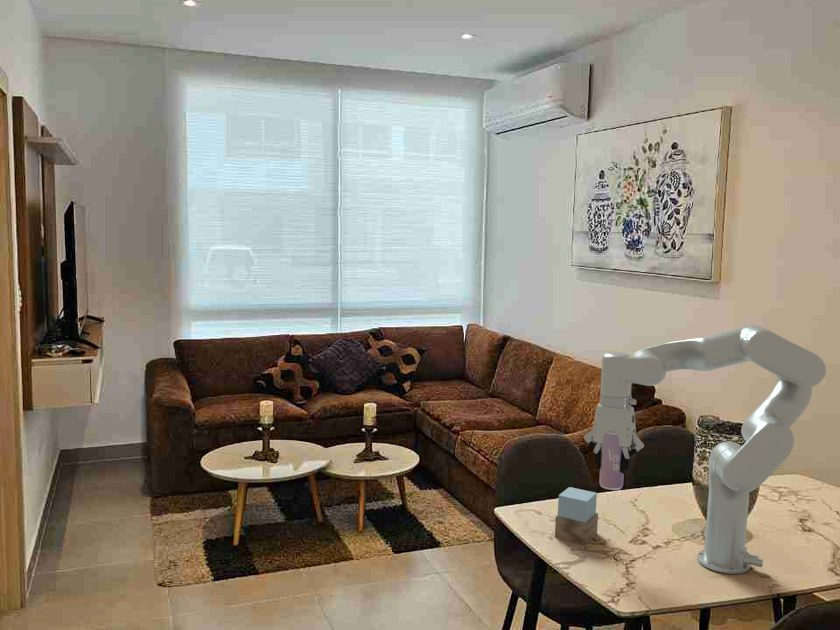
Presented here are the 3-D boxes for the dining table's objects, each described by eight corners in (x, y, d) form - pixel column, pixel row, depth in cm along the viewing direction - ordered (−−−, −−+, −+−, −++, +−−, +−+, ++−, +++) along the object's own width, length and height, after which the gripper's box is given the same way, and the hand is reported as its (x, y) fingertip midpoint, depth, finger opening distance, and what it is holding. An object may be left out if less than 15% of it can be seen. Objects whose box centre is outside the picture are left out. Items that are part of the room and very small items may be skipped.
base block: (597, 533, 214) (598, 513, 213) (586, 545, 206) (587, 523, 206) (566, 526, 219) (567, 506, 218) (554, 537, 211) (555, 516, 210)
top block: (595, 513, 213) (596, 492, 212) (585, 523, 206) (586, 501, 205) (568, 507, 217) (569, 486, 216) (557, 516, 210) (558, 495, 210)
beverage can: (621, 483, 201) (623, 427, 199) (624, 491, 195) (627, 433, 193) (597, 482, 201) (600, 426, 199) (600, 490, 195) (603, 432, 193)
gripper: (653, 403, 194) (649, 472, 196) (587, 394, 203) (584, 460, 205) (645, 409, 188) (641, 480, 190) (577, 399, 196) (574, 467, 199)
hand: (611, 469), depth 197 cm, fingers closed on beverage can, 6 cm apart
